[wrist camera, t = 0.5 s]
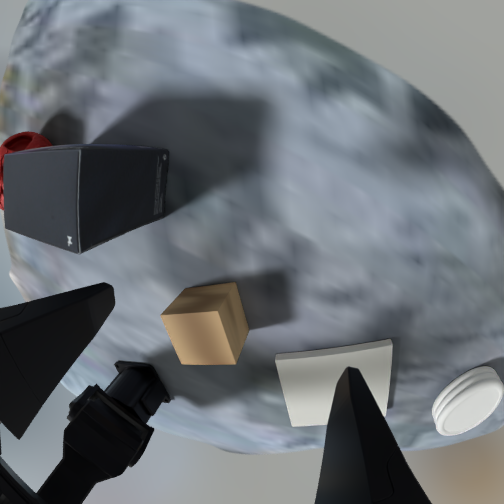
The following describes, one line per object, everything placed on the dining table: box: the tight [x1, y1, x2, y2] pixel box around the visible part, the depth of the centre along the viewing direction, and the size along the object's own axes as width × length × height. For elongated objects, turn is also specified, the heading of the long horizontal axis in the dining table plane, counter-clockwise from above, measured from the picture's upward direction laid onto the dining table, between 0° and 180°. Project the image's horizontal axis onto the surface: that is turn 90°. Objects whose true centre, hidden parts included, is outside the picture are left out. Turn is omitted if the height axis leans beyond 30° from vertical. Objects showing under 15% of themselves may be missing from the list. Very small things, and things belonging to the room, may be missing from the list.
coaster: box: [432, 366, 504, 436], centre depth 21 cm, size 10×10×4 cm
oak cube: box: [160, 282, 249, 365], centre depth 23 cm, size 5×5×5 cm
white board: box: [275, 339, 393, 427], centre depth 25 cm, size 11×11×1 cm
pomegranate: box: [0, 132, 53, 210], centre depth 21 cm, size 10×10×9 cm
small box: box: [3, 144, 169, 255], centre depth 18 cm, size 11×6×10 cm, turn 82°
